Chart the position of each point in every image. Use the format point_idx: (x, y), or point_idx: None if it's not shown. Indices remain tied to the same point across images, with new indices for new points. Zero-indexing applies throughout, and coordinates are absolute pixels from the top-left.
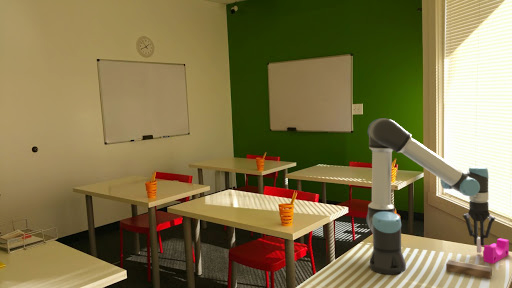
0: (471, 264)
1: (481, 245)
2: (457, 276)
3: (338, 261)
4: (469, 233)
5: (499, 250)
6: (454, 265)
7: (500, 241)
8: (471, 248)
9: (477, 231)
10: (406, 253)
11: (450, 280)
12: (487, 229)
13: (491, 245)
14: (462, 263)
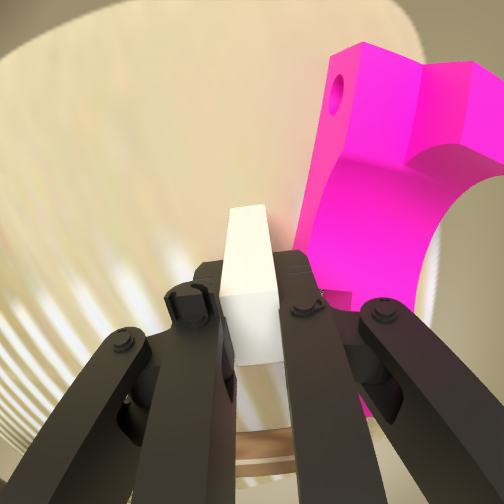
0: (292, 460)
1: (268, 230)
2: None
3: (22, 454)
4: (133, 411)
5: (426, 199)
6: (237, 475)
7: (479, 155)
8: (131, 79)
9: (222, 408)
10: (12, 382)
11: (253, 478)
12: (424, 476)
13: (361, 149)
14: (256, 464)
